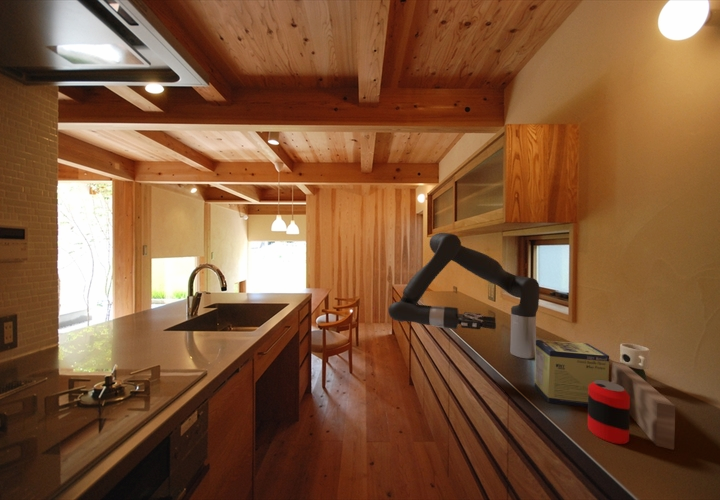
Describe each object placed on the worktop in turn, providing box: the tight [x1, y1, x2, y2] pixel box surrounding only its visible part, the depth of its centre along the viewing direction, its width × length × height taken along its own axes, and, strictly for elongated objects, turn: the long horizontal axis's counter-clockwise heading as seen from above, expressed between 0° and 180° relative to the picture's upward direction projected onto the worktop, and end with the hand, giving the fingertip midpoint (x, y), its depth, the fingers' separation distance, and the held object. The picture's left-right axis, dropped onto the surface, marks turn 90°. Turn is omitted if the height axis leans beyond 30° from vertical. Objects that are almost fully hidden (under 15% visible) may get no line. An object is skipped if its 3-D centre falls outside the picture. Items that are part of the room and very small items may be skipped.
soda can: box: [587, 380, 631, 445], centre depth 68 cm, size 8×8×12 cm
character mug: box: [619, 342, 651, 383], centre depth 93 cm, size 11×7×13 cm, turn 159°
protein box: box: [534, 339, 610, 408], centre depth 85 cm, size 10×16×16 cm
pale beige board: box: [610, 361, 676, 450], centre depth 76 cm, size 26×3×10 cm, turn 155°
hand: (495, 323), depth 94 cm, fingers open, 6 cm apart
